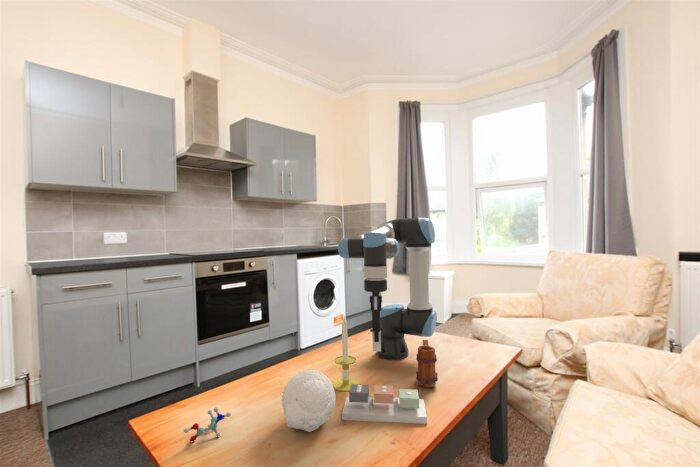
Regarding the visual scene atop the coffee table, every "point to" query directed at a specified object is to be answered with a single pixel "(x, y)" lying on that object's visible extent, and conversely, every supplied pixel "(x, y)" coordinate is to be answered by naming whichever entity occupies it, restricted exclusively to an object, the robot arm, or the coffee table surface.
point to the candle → (344, 363)
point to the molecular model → (210, 426)
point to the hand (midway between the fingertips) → (376, 350)
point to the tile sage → (408, 398)
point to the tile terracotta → (383, 394)
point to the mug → (426, 365)
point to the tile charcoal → (359, 393)
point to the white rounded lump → (308, 400)
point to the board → (384, 412)
